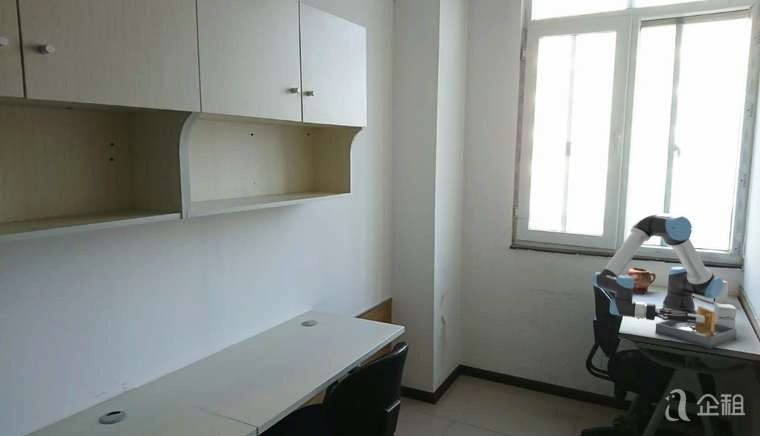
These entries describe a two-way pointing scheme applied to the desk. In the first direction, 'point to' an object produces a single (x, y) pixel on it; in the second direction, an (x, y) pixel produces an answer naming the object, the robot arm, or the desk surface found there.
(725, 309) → the supplement box
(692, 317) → the robot arm
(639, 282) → the orange ceramic pot
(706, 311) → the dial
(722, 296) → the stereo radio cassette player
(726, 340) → the gray rectangular tray
